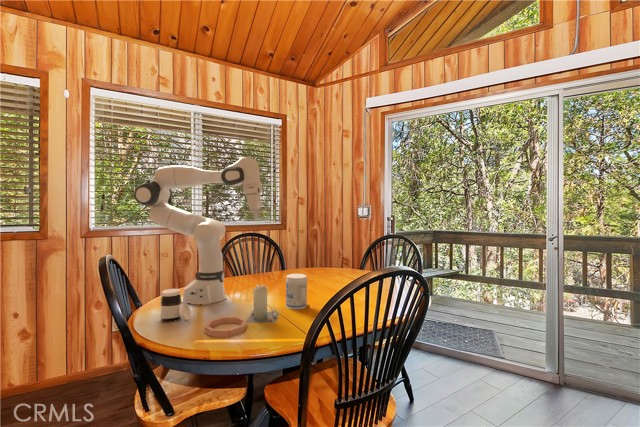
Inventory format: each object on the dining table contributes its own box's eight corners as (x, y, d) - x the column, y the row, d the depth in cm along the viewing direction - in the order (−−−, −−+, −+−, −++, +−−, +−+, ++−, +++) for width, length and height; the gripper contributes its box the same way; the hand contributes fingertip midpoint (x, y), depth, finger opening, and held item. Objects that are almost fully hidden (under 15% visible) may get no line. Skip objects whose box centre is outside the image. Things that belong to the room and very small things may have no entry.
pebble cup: (252, 320, 128) (252, 286, 127) (254, 315, 133) (254, 283, 133) (266, 320, 128) (266, 286, 127) (268, 315, 133) (267, 283, 133)
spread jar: (161, 316, 135) (161, 288, 134) (190, 312, 139) (190, 286, 139) (160, 326, 124) (159, 296, 124) (191, 321, 129) (191, 293, 128)
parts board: (245, 324, 125) (245, 317, 125) (251, 314, 137) (251, 307, 137) (276, 324, 126) (276, 316, 126) (279, 313, 138) (279, 306, 138)
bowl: (200, 339, 112) (200, 331, 112) (212, 323, 126) (212, 316, 126) (241, 338, 112) (240, 330, 112) (249, 323, 127) (248, 316, 126)
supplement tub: (281, 308, 145) (281, 275, 145) (296, 303, 153) (296, 272, 152) (296, 312, 139) (296, 279, 139) (311, 307, 146) (311, 275, 146)
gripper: (249, 191, 166) (253, 217, 167) (243, 191, 146) (248, 220, 147) (261, 189, 167) (265, 215, 168) (257, 189, 146) (261, 218, 147)
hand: (257, 218), depth 157 cm, fingers open, 8 cm apart
